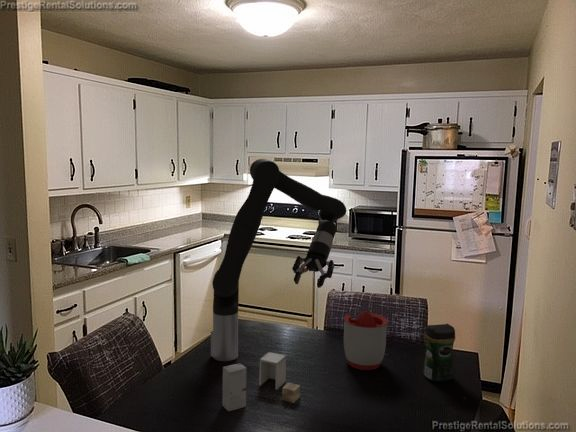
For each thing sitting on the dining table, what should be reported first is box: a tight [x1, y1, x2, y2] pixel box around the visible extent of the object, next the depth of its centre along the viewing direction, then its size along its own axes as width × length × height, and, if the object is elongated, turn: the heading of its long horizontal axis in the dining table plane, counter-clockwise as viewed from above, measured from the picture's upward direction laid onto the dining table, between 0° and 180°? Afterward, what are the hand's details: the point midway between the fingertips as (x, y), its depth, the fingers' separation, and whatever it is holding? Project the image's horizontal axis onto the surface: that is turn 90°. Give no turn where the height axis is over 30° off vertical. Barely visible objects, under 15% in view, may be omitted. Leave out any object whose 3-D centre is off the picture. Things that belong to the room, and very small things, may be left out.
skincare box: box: [222, 362, 247, 412], centre depth 140 cm, size 6×4×12 cm
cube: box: [281, 382, 301, 404], centre depth 145 cm, size 4×4×4 cm
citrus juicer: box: [343, 310, 389, 371], centre depth 170 cm, size 16×17×20 cm
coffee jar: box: [423, 323, 456, 382], centre depth 161 cm, size 10×8×19 cm
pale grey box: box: [258, 351, 287, 390], centre depth 154 cm, size 6×6×9 cm
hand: (307, 284), depth 161 cm, fingers open, 8 cm apart
